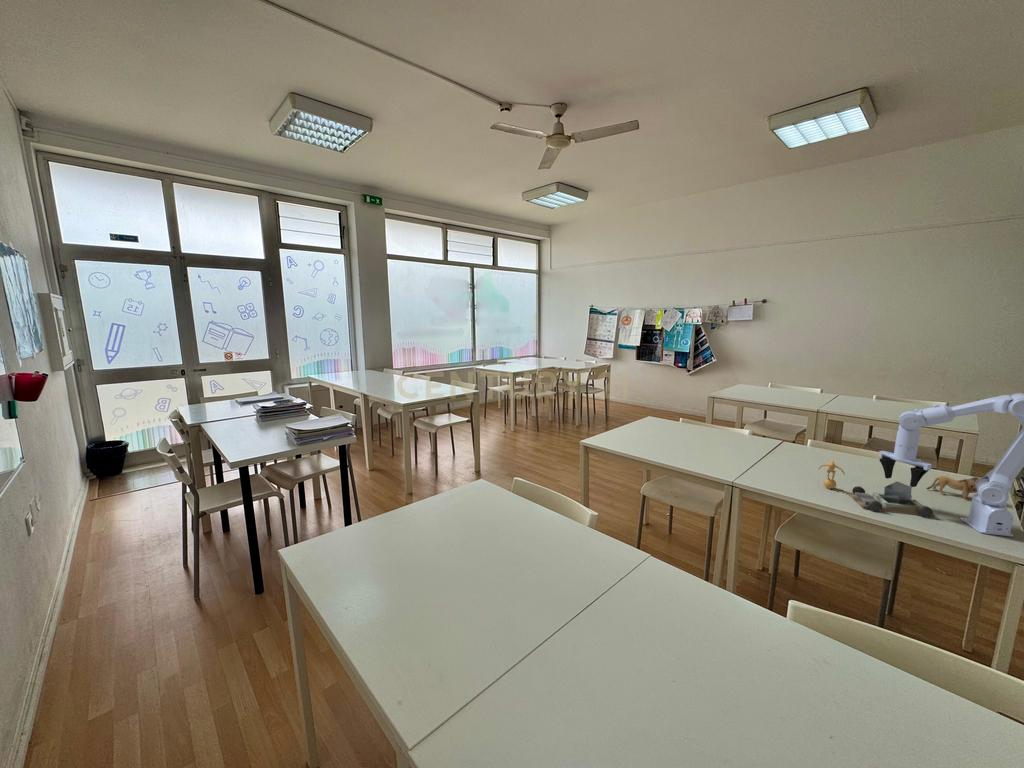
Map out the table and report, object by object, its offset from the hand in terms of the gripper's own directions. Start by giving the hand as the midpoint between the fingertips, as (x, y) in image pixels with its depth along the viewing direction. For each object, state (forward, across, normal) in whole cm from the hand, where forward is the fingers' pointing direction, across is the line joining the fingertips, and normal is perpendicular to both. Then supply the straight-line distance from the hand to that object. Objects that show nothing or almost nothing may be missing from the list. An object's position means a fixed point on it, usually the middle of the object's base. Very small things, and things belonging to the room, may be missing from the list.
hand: (900, 482), depth 147 cm
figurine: (+10, +18, +8) cm, 22 cm away
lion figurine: (+10, -1, -30) cm, 31 cm away
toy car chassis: (+9, +1, +2) cm, 10 cm away
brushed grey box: (+8, 0, 0) cm, 8 cm away
